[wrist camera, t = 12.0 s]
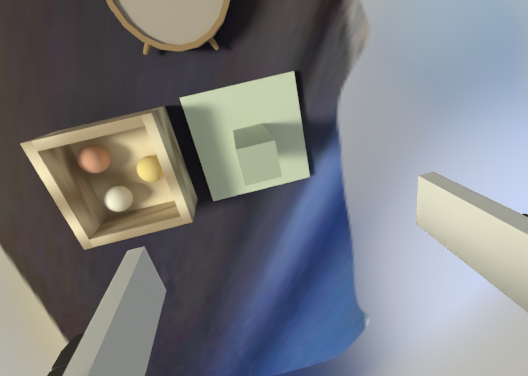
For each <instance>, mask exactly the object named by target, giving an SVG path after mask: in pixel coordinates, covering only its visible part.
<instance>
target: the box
mask: <svg viewBox="0 0 528 376" xmlns="http://www.w3.org/2000/svg"><path fill="white" fill-rule="evenodd" d="M91 145H95V146H99V147H102V148H103V149H105V150H106V151H107V152H108V154H109V156H110V164H109V166H108V168H107V169H106V170H104V171H103V172H100V173H89V172H86V171H85V170H83V169H82V168H81V167H80V166H79V164H78V161H77V156H78V153H79V152H80V150H81V149H83V148H84V147H86V146H91ZM21 146H22V148H23V149H24V151H25V153H26V154H27V156H28V158H29V159H30V161H31V163H32V164H33V166H34V168H35V169H36V171H37V173H38V174H39V176H40V177H41V179H42V181H43V182H44V184H45V186H46V187H47V189H48V191H49V192H50V194H51V196H52V197H53V199H54V201H55V202H56V204H57V206H58V207H59V209H60V210H61V212H62V214H63V215H64V217H65V219H66V220H67V222H68V224H69V225H70V227H71V229H72V230H73V232H74V234H75V235H76V237H77V239H78V240H79V242H80V243H81V245H82V247H83V248H84V250H85V249H89V248H92V247H96V246H100V245H104V244H108V243H112V242H116V241H120V240H124V239H128V238H132V237H136V236H140V235H144V234H147V233H151V232H155V231H159V230H163V229H167V228H171V227H175V226H179V225H183V224H187V223H191V222H193V218H194V213H195V209H196V204H197V196H196V193H195V190H194V187H193V185H192V182H191V179H190V176H189V173H188V170H187V168H186V165H185V162H184V159H183V156H182V153H181V151H180V148H179V145H178V142H177V139H176V136H175V134H174V131H173V128H172V125H171V122H170V119H169V117H168V114H167V111H166V108H165V106H162V107H158V108H154V109H149V110H145V111H141V112H137V113H132V114H128V115H124V116H119V117H115V118H111V119H107V120H102V121H98V122H94V123H90V124H85V125H81V126H77V127H73V128H68V129H64V130H60V131H56V132H53V133H50V134H47V135H44V136H41V137H38V138H35V139H32V140H29V141H27V142H24V143H21ZM150 155H152V156H156V157H157V158H158V160H159V163H160V165H161V168H162V170H163V173H164V176H163V177H162V178H161V179H160V180H158V181H156V182H147V181H144V180H143V179H141V178H140V177H139V175H138V173H137V164H138V162H139V161H140V159H142V158H143V157H145V156H150ZM114 186H123V187H126V188H128V189H129V190H130V191H131V193H132V195H133V202H132V204H131V206H130V207H129V208H128V209H126V210H124V211H121V212H115V211H112V210H110V209H108V208H107V207H106V206H105V204H104V200H103V199H104V194H105V192H106V191H107V190H108V189H109V188H111V187H114Z"/></svg>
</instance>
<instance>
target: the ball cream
mask: <svg viewBox="0 0 528 376" xmlns="http://www.w3.org/2000/svg"><path fill="white" fill-rule="evenodd" d="M103 200H104V204H105V206H106V207H107V208H108V209H110V210H112V211H115V212H121V211H124V210H126V209H128V208H129V207H130V206H131V204H132V202H133V195H132V193H131V191H130V190H129V189H128V188H126V187H123V186H114V187H111V188H109V189H108V190H107V191H106V192H105V194H104V199H103Z"/></svg>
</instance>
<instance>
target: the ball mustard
mask: <svg viewBox="0 0 528 376" xmlns="http://www.w3.org/2000/svg"><path fill="white" fill-rule="evenodd" d="M137 173H138V175H139V177H140V178H141V179H143V180H144V181H147V182H156V181H158V180H160V179H161V178H162V177H163V176H164V173H163V170H162V168H161V165H160V163H159V160H158V158H157V157H156V156H152V155H150V156H145V157H143V158H142V159H140V161H139V162H138V164H137Z"/></svg>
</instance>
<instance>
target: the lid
mask: <svg viewBox="0 0 528 376" xmlns="http://www.w3.org/2000/svg"><path fill="white" fill-rule="evenodd" d="M180 101H181V104H182V107H183V110H184V113H185V116H186V119H187V122H188V125H189V128H190V132H191V135H192V138H193V141H194V144H195V147H196V150H197V153H198V156H199V159H200V162H201V165H202V168H203V171H204V174H205V177H206V180H207V183H208V186H209V190H210V193H211V196H212V199H213V201H217V200H221V199H225V198H228V197H232V196H236V195H240V194H244V193H248V192H252V191H256V190H260V189H264V188H268V187H272V186H276V185H280V184H284V183H288V182H292V181H296V180H300V179H304V178H308V177H310V173H309V167H308V160H307V153H306V147H305V140H304V134H303V127H302V120H301V114H300V107H299V100H298V94H297V87H296V81H295V74H294V71H291V72H287V73H283V74H279V75H274V76H270V77H266V78H262V79H257V80H253V81H249V82H245V83H240V84H236V85H232V86H228V87H223V88H219V89H215V90H211V91H206V92H202V93H198V94H193V95H189V96H185V97H181V98H180Z"/></svg>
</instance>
